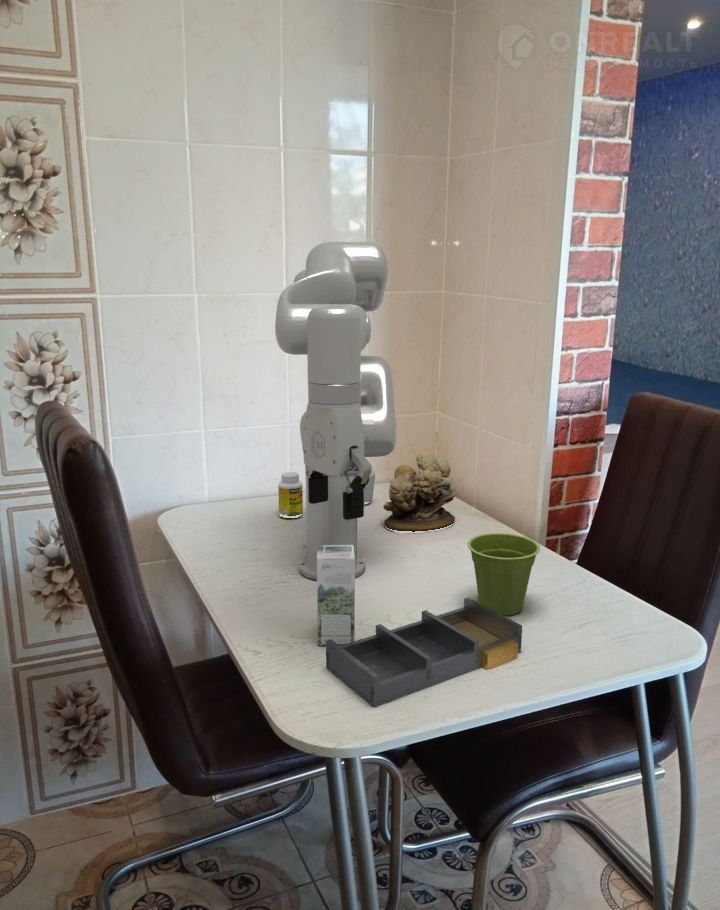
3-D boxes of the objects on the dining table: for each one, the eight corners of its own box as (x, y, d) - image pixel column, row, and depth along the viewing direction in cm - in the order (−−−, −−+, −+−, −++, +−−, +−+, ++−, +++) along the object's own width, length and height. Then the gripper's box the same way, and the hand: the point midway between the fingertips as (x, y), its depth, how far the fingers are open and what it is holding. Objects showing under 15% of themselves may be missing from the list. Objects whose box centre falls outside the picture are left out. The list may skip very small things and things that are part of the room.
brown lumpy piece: (440, 512, 178) (443, 442, 174) (469, 526, 168) (472, 453, 164) (373, 522, 170) (374, 449, 166) (399, 538, 160) (401, 461, 156)
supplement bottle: (289, 521, 170) (288, 478, 168) (274, 516, 174) (273, 473, 172) (307, 516, 174) (307, 474, 172) (292, 511, 178) (291, 469, 176)
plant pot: (452, 599, 129) (454, 538, 127) (509, 588, 134) (512, 529, 131) (489, 628, 119) (492, 562, 116) (551, 615, 123) (555, 551, 121)
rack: (326, 668, 107) (325, 640, 106) (466, 621, 121) (467, 597, 120) (378, 711, 96) (378, 681, 95) (525, 654, 110) (527, 628, 109)
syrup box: (354, 629, 118) (354, 542, 115) (355, 647, 113) (355, 556, 109) (317, 629, 118) (316, 543, 115) (317, 647, 113) (316, 557, 109)
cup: (328, 506, 182) (328, 474, 180) (335, 497, 189) (334, 466, 187) (372, 508, 180) (372, 476, 178) (377, 499, 188) (377, 468, 186)
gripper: (282, 390, 112) (285, 500, 115) (344, 404, 97) (345, 529, 101) (325, 386, 116) (326, 493, 119) (391, 399, 101) (390, 520, 105)
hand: (335, 509), depth 110 cm, fingers open, 9 cm apart
